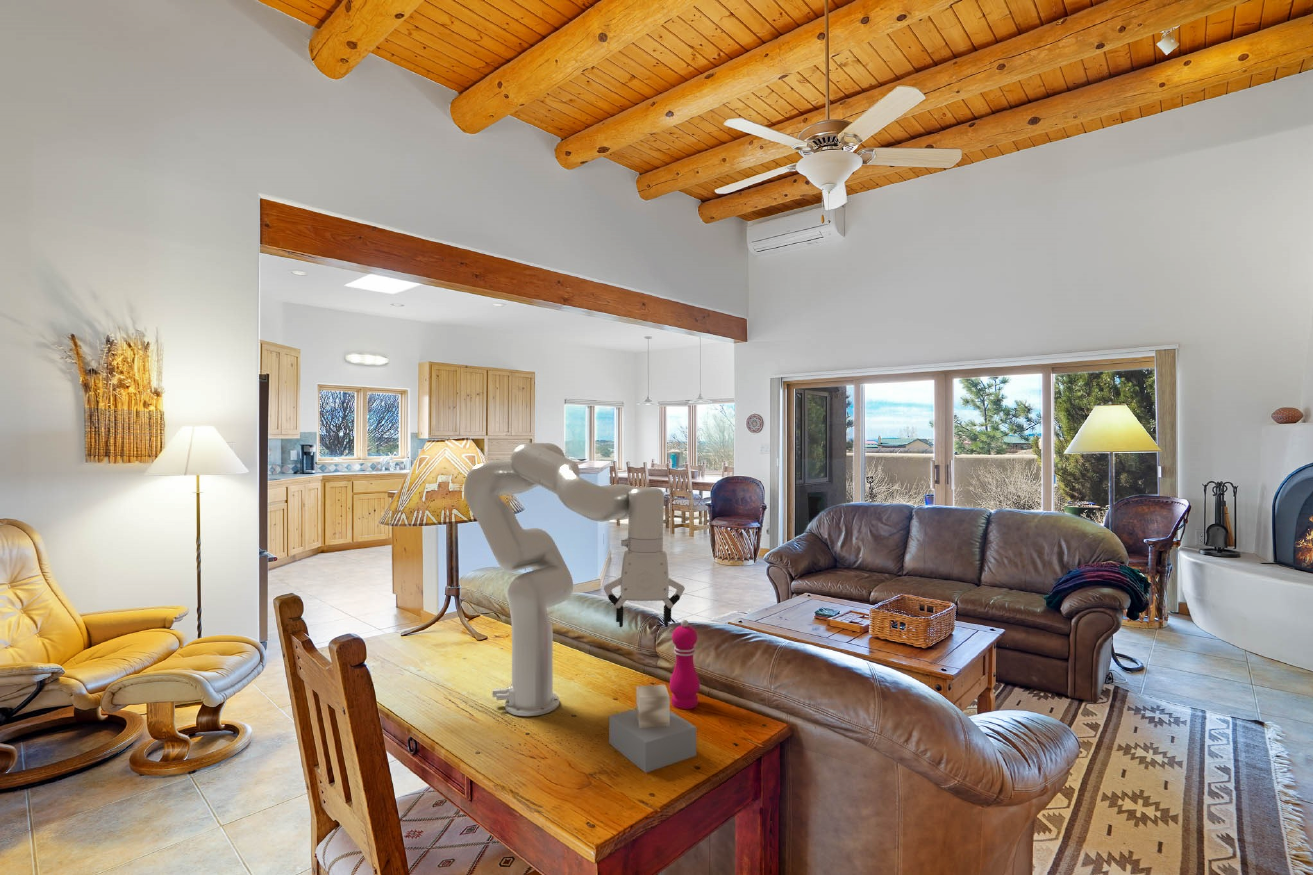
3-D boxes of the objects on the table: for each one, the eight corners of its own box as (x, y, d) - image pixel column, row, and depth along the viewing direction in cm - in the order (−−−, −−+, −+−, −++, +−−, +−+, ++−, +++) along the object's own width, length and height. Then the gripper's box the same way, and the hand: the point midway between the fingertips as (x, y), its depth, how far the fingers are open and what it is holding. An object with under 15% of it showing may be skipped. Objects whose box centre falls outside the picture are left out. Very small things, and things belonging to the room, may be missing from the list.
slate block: (645, 774, 118) (645, 742, 118) (609, 744, 130) (609, 715, 130) (696, 757, 125) (696, 726, 125) (657, 730, 137) (657, 702, 137)
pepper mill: (690, 712, 145) (690, 625, 145) (663, 705, 149) (663, 621, 149) (705, 701, 151) (705, 618, 151) (679, 695, 155) (679, 614, 155)
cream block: (639, 727, 125) (639, 697, 125) (636, 715, 131) (636, 686, 131) (669, 726, 125) (669, 695, 126) (664, 713, 131) (665, 684, 131)
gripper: (604, 548, 130) (602, 630, 130) (687, 548, 132) (685, 630, 132) (604, 542, 137) (602, 620, 138) (683, 542, 139) (681, 620, 139)
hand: (643, 625), depth 135 cm, fingers open, 9 cm apart
